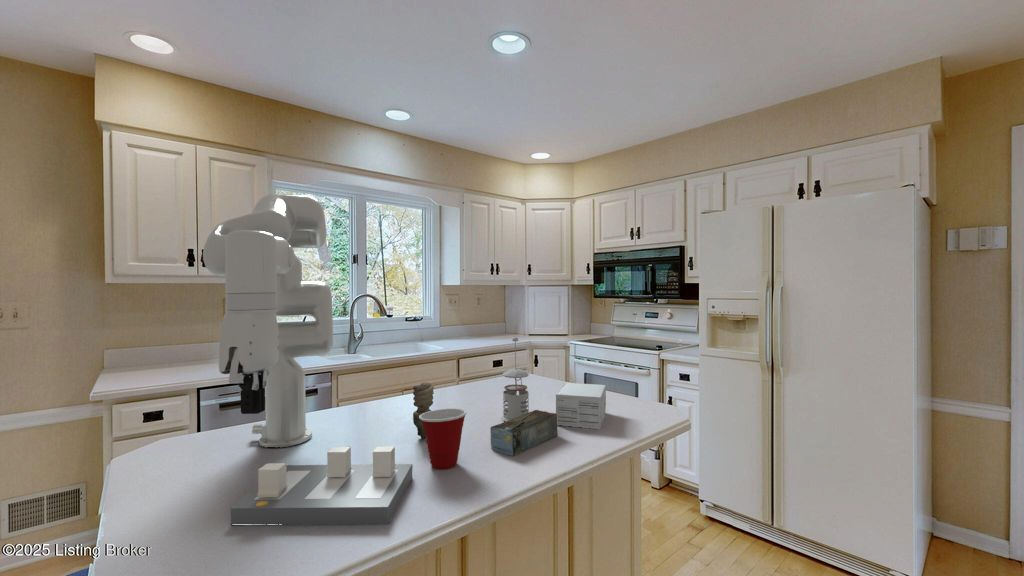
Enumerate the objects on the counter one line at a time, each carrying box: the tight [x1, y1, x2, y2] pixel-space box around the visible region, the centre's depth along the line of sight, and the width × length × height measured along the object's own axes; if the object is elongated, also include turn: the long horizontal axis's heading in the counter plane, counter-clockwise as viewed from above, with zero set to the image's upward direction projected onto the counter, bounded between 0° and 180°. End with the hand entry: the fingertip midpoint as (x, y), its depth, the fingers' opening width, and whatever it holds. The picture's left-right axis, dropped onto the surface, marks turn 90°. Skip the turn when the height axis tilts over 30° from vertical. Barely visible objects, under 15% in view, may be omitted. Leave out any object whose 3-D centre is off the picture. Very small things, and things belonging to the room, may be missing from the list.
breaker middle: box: [326, 446, 352, 477], centre depth 87 cm, size 4×4×5 cm
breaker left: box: [257, 462, 288, 498], centre depth 79 cm, size 4×4×5 cm
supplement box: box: [555, 382, 607, 430], centre depth 132 cm, size 17×13×9 cm
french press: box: [500, 336, 530, 422], centre depth 134 cm, size 10×12×25 cm
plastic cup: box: [419, 408, 467, 471], centre depth 99 cm, size 11×11×12 cm
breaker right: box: [372, 445, 396, 477], centre depth 87 cm, size 4×4×5 cm
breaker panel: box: [230, 463, 413, 526], centre depth 83 cm, size 27×18×3 cm, turn 90°
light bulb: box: [412, 381, 435, 440], centre depth 116 cm, size 6×6×15 cm
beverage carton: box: [489, 409, 558, 457], centre depth 113 cm, size 8×19×7 cm, turn 139°
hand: (253, 412), depth 74 cm, fingers closed
